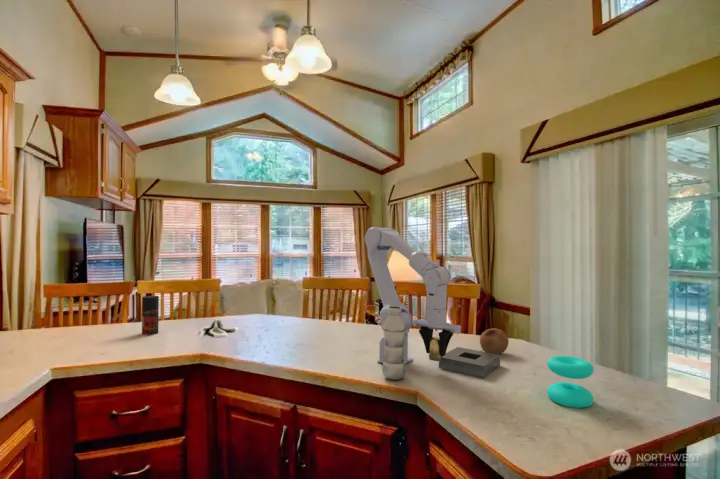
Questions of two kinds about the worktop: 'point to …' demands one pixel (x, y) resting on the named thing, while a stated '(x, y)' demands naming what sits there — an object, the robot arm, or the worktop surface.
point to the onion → (494, 341)
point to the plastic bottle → (394, 345)
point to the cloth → (216, 329)
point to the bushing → (434, 349)
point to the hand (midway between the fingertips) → (435, 353)
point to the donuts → (568, 391)
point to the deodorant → (150, 315)
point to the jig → (470, 362)
